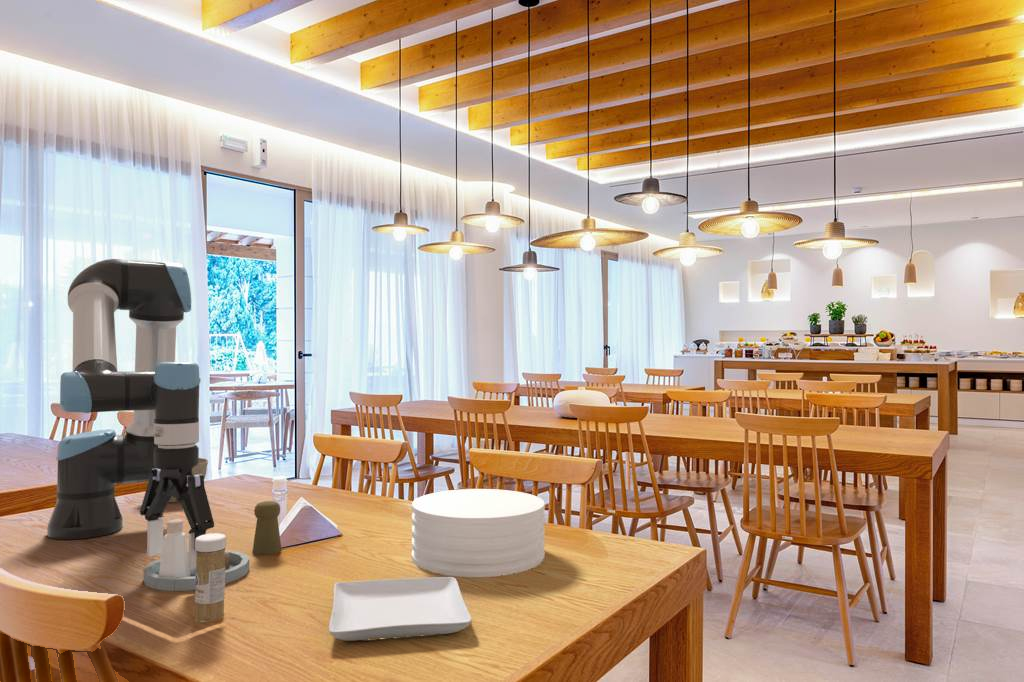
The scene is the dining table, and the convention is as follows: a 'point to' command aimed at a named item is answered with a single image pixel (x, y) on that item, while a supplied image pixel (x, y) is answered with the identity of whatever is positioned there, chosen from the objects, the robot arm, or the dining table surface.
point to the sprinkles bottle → (210, 577)
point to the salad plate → (397, 608)
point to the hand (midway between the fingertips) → (175, 560)
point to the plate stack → (478, 532)
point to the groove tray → (191, 581)
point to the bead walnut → (227, 560)
